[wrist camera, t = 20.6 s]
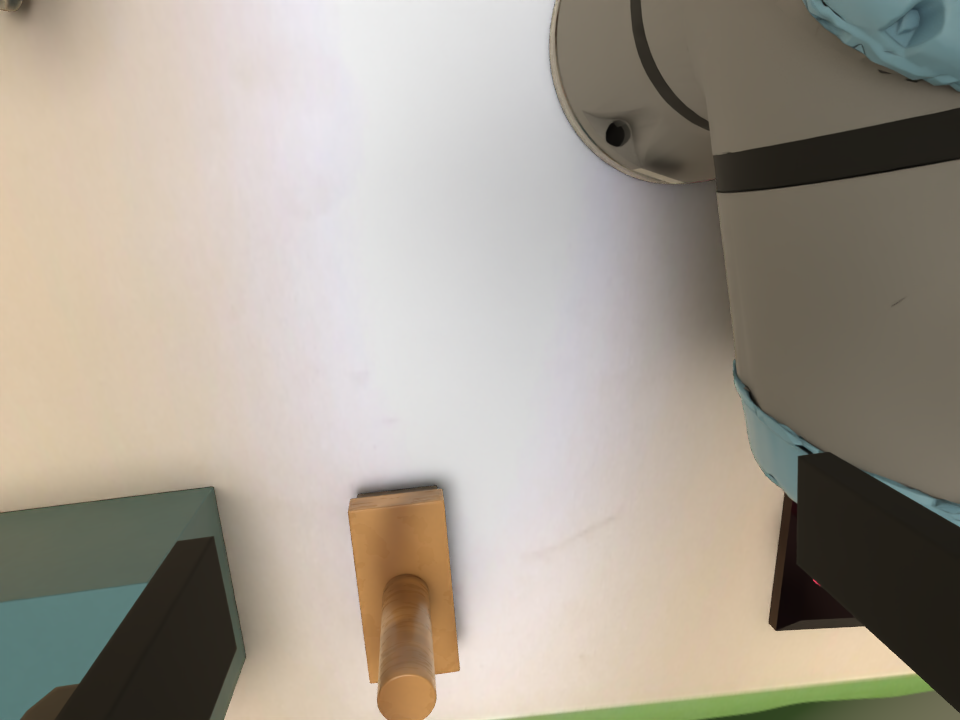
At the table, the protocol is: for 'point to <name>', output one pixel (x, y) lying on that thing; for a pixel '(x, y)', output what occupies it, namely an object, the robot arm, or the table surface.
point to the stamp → (404, 596)
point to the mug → (10, 5)
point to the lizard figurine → (801, 587)
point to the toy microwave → (90, 585)
